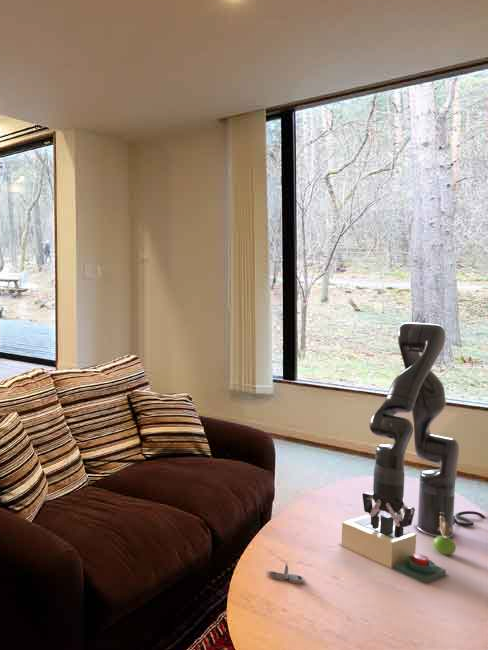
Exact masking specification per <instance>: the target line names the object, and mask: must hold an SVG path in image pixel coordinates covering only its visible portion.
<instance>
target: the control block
mask: <svg viewBox="0 0 488 650" xmlns="http://www.w3.org/2000/svg"><path fill="white" fill-rule="evenodd" d="M394 570H395V571H397V572H399V573H401V574H403V575H406V576H408V577H410V578H412V579H413V580H416V581H419V582H421V583H423V584H428V583H430V582H432V581H435V580H437V579H440V578H443V577H445V576H446V573H447V570H446V569H445V568H443V567H440V566H438V565H436V564H435V562H433V561H432V560H431V559H429V560H428V565H421V564H418V563H415V562H414V561H413V556H412V555H410V556H407V557H406V561H403V562H400V563H398V564H395V567H394Z"/></svg>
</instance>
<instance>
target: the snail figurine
mask: <svg viewBox="0 0 488 650" xmlns="http://www.w3.org/2000/svg"><path fill="white" fill-rule="evenodd" d="M441 514H444V512H440V531H441V534H442V536H438V537H435V538H434V539H433V541H432V545H433V547H434V549H435V550H436V551H437V552H438V553H440V554H442V555H446V556H447V555H452V554H453V553H454V552H455V551H456V548H457V546H456V544H455V541H454V540H453V539H451V537H450V538H449V537H448V534H449V524H448V523H447V522H446V521H444V520H445V518H444V517H443V516H441Z"/></svg>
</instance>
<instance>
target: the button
mask: <svg viewBox="0 0 488 650" xmlns="http://www.w3.org/2000/svg"><path fill="white" fill-rule="evenodd" d="M428 560H430V558H429V557H428V556H426V555H424V554H420V553H415V554H413V561H414V562H415V563H418V564H421V565H428Z"/></svg>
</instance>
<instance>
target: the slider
mask: <svg viewBox="0 0 488 650" xmlns="http://www.w3.org/2000/svg"><path fill="white" fill-rule="evenodd" d="M380 521H381V522H380V533H382V534H385V535H390V534H393V526H394V519H393V518H392V517H391V514H389V513H384V514H381V515H380Z"/></svg>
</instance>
